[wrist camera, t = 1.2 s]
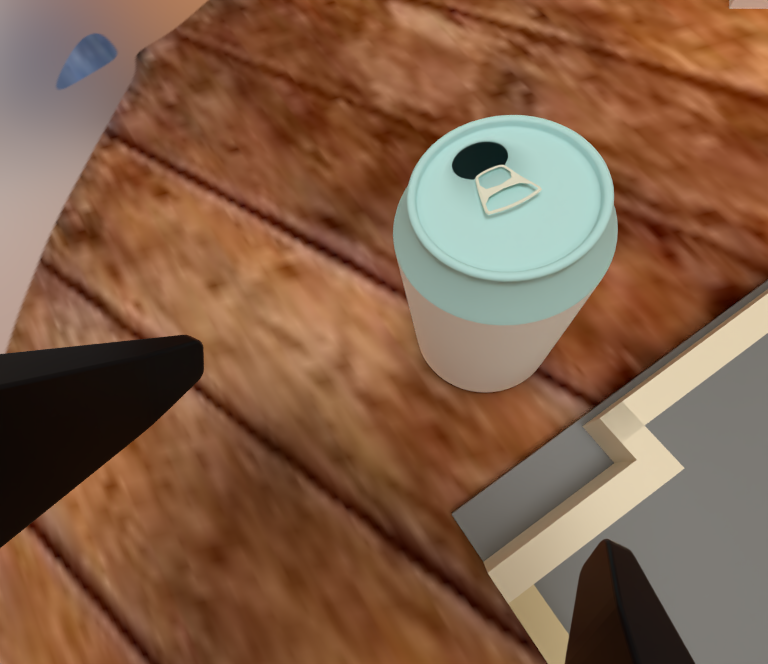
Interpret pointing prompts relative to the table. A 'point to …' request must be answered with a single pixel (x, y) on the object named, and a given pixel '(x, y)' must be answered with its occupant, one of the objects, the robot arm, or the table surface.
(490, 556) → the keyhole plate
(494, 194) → the can
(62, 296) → the table surface
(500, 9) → the table surface
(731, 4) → the twin open-top boxes
